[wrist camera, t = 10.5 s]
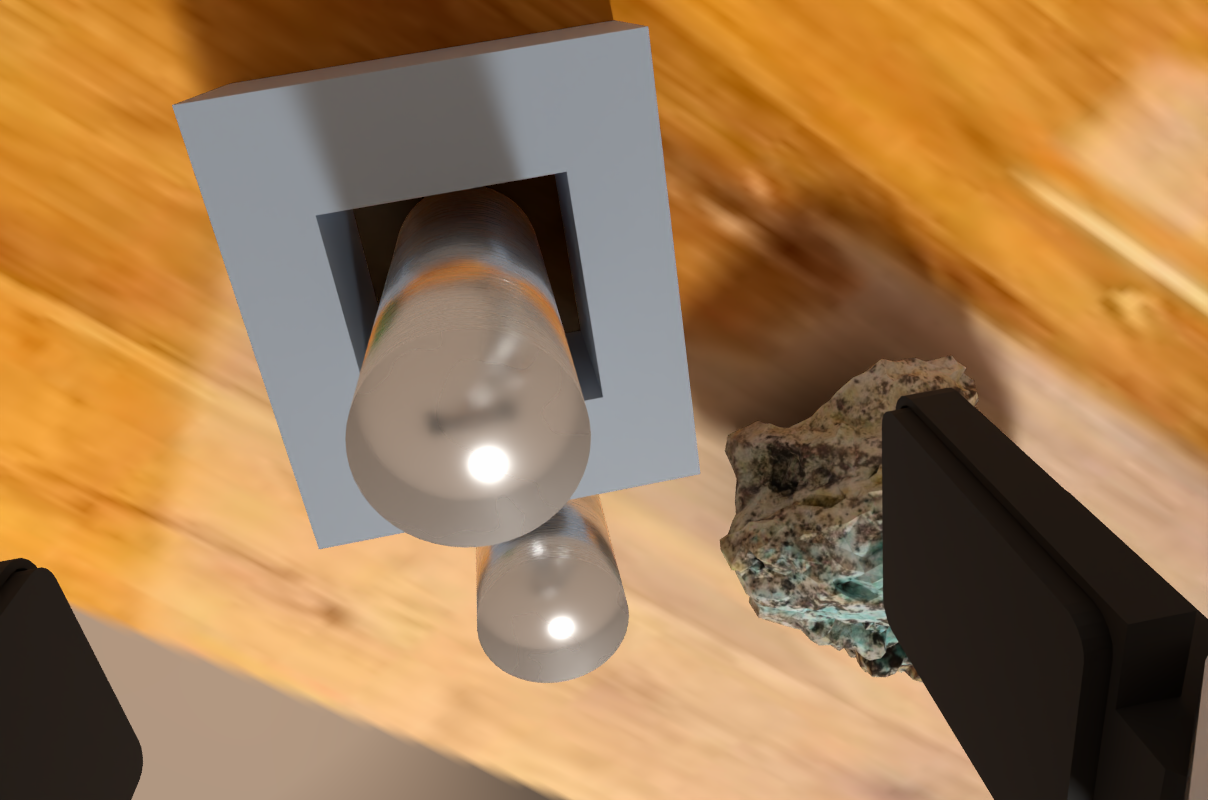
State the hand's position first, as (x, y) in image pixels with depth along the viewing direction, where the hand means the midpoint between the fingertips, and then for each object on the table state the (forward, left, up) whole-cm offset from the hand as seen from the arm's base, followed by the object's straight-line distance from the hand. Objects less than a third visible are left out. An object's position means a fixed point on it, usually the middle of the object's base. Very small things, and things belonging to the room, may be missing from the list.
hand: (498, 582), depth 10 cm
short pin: (+9, 0, -17) cm, 19 cm away
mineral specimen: (+12, +12, -17) cm, 24 cm away
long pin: (+1, 0, -17) cm, 17 cm away
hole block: (+1, 0, -17) cm, 17 cm away
